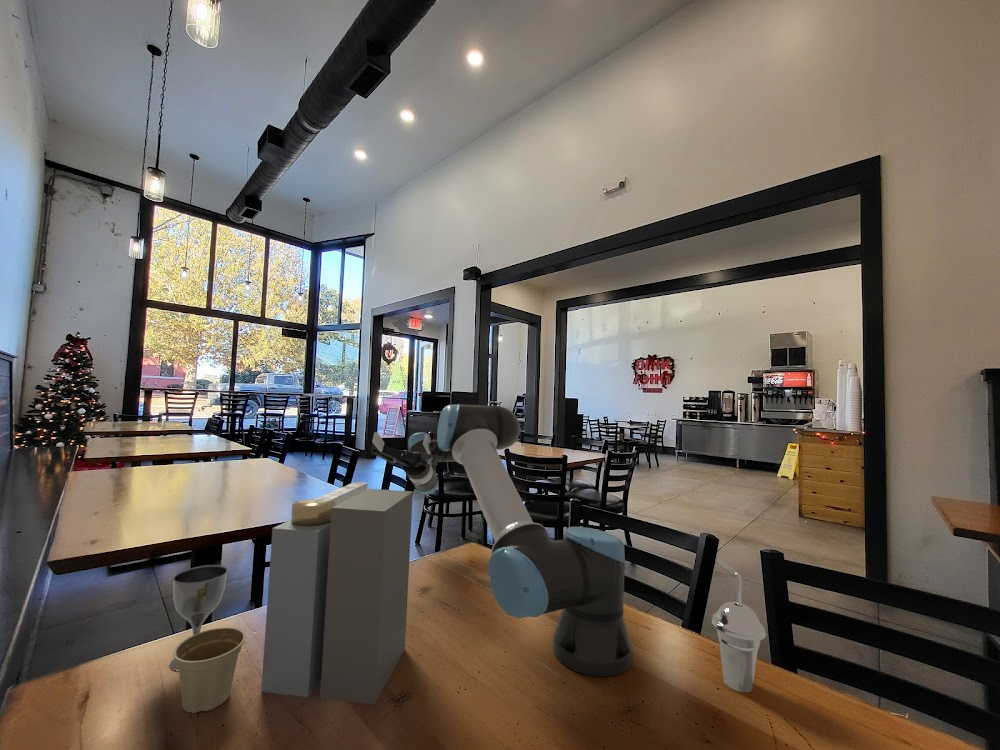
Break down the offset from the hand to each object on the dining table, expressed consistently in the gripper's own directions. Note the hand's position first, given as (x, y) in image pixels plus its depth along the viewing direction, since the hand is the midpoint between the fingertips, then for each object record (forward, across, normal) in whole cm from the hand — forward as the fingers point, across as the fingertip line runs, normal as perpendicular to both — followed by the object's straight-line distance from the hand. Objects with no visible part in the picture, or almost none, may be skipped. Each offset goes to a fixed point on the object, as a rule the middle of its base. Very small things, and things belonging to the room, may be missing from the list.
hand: (399, 438), depth 111 cm
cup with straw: (+4, -73, -46) cm, 86 cm away
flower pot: (+19, +14, -55) cm, 60 cm away
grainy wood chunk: (+18, +3, -24) cm, 30 cm away
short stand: (+10, +3, -49) cm, 51 cm away
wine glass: (+12, +24, -50) cm, 57 cm away
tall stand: (+10, -8, -49) cm, 51 cm away
